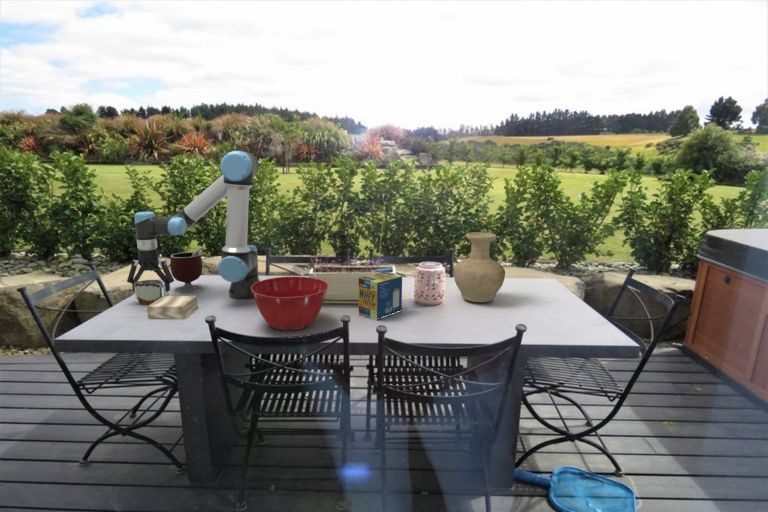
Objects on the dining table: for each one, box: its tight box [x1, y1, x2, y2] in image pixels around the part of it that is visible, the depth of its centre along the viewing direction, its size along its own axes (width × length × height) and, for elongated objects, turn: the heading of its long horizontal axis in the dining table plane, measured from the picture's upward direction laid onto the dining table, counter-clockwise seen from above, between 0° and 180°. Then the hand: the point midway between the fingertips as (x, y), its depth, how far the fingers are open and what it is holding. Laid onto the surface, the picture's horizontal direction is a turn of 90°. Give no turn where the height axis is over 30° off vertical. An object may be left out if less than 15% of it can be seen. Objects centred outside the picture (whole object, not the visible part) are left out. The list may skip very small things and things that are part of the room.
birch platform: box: [146, 295, 199, 320], centre depth 183 cm, size 14×14×5 cm
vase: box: [453, 231, 506, 303], centre depth 201 cm, size 22×22×30 cm
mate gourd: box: [169, 246, 204, 294], centre depth 215 cm, size 16×14×20 cm
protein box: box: [358, 271, 403, 320], centre depth 184 cm, size 10×15×16 cm
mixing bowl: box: [251, 275, 329, 331], centre depth 170 cm, size 28×28×15 cm
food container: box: [134, 279, 164, 307], centre depth 194 cm, size 12×6×10 cm, turn 84°
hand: (152, 298), depth 195 cm, fingers closed on food container, 11 cm apart
